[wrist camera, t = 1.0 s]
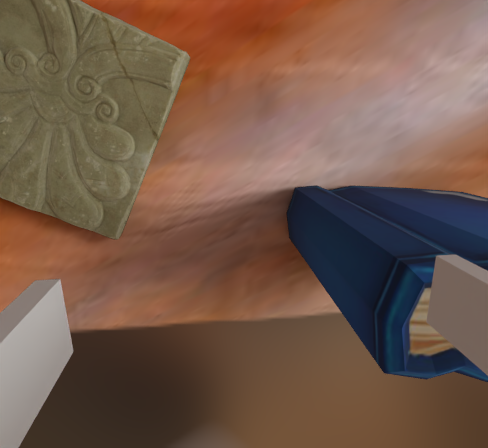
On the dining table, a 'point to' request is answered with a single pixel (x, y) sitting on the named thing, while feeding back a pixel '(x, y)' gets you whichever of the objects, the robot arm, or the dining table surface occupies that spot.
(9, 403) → the robot arm
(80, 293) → the dining table surface
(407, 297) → the book
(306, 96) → the dining table surface
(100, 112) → the decorative tile
